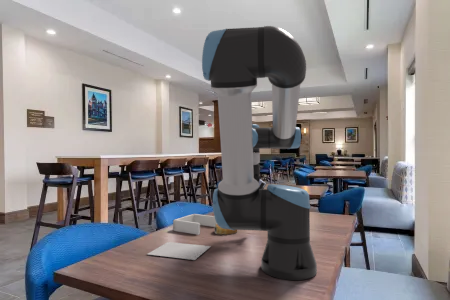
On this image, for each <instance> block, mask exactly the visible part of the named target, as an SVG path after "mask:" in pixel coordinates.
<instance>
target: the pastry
mask: <svg viewBox="0 0 450 300" xmlns="http://www.w3.org/2000/svg"><path fill="white" fill-rule="evenodd" d="M213 228H214V229H213V230H214V233H215V234H216V235H219V236H222V235H226V236H227V235H234V234H236V233H238V230H231V229H223V228H221V227H220V226H218V224H216V225H215V227H213Z"/></svg>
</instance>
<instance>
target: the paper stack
mask: <svg viewBox="0 0 450 300" xmlns="http://www.w3.org/2000/svg"><path fill="white" fill-rule="evenodd" d="M211 247H212V246H211V245H201V244H191V243H181V242H172V241H167V242H165V243H164V244H162V245H160V246H159V247H157V248H155V249H153V250H152V251H150V252H148V253H147V255H148V256H158V257H159V256H160V257H166V258H167V257H168V258H176V259H184V260H192V261H196V260H197V259H198V258H200V256H201V255H203V254H204V253H205V252H206V251H208V250H209V249H210V248H211Z"/></svg>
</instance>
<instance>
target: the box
mask: <svg viewBox="0 0 450 300" xmlns="http://www.w3.org/2000/svg"><path fill="white" fill-rule="evenodd" d="M216 224H217V223H216V220H215V217H214V215H207V214H206V215H205V214H199V213H193V214H188V215H185V216H182V217H179V218H175V219H173V220H172V227H173V228H172V231H174V232H179V233H184V234H190V235H197V236H199V235H201V226H206V227H212V228H215V225H216Z"/></svg>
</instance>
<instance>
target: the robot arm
mask: <svg viewBox="0 0 450 300" xmlns="http://www.w3.org/2000/svg"><path fill="white" fill-rule="evenodd" d="M201 56H202V57H201V67H202V69H201V70H202V75H203V79H204V80H206V81H209V82H210V87H211V89H212V90H213V91H214V92H215V93H216V95H217V104H218V105H217V106H218V121H219V136H220V138H219V139H220V151H221V152H220V153H221V155H220V156H221V169H222V180H221V181H220V182H219V183H218V186H217V188H215V189H214V190H213V194H212V212H213V216H214V217H215V220H216V223H217V224H218V226H220V227H221V228H223V229H231V230H237V231H239V230H240V231H257V232H258V231H259V232H260V231H261V232H262V231H263V232H267V241H266V243H265V248H264V250H263V254H262V257H261V266H260V267H261V270H262V272H263V273H264V274H266V275H268V276H271V277H274V278H277V279H280V280H287V281H289V280H290V281H301V280H309V279H311V278H314V277H315V276H316V275H317V273H318V272H317V271H318V270H317V269H318V266H317V265H318V264H317V261H316V258H315V255H314V251H313V248H312V246H311V239H310V238H311V227H310V226H311V225H310V224H311V223H310V222H311V221H310V217H311V216H310V214H311V213H310V209H311V205H310V204H311V203H310V201H311V200H310V194H309V192H308V191H307V190H305V189H304V188H300V187H296V186H291V185H284V184H275V183H269V184H267V182H266V181H263V180H262V178H261V176H260V175H261V174H260V173H261V165H260V162H261V159H260V158H261V154H260V152H261V149H265V150H266V149H277V150H279V149H281V150H286V149H287V150H290V149H298V148H300V147H301V141H302V136H301V134H302V132H301V128H300V127H298V126H297V122H298V121H297V119H298V109H299V100H300V92H301V84H303V82H304V81H305V78H306V73H307V61H306V57H305V53H304V51H303V49H302V47H301V45H300V44H299V42H297V40H296V39H295V37H294V36H293V35H292V34H290V33H289V32H288V31H286V30H285V29H282V28H281V27H278V26H274V25H266V26H265V25H264V26H257V27H238V28H235V27H234V28H225V29H218V30H217V29H216V30H212V31H211V32H209V33H208V34H207V36H206V37H205V40H204V43H203V48H202V55H201ZM264 78H267V79H268V82H269V83H270V85H271V95H272V96H271V101H272V102H271V103H272V105H271V107H272V108H271V110H272V126H271V127H260V125H259V124H256V123H255V124H254V123H253V109H252V108H253V107H252V102H253V101H252V93H253V91H254V90H255V88H257V86H258V79H264ZM265 187H266V189H265Z"/></svg>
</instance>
